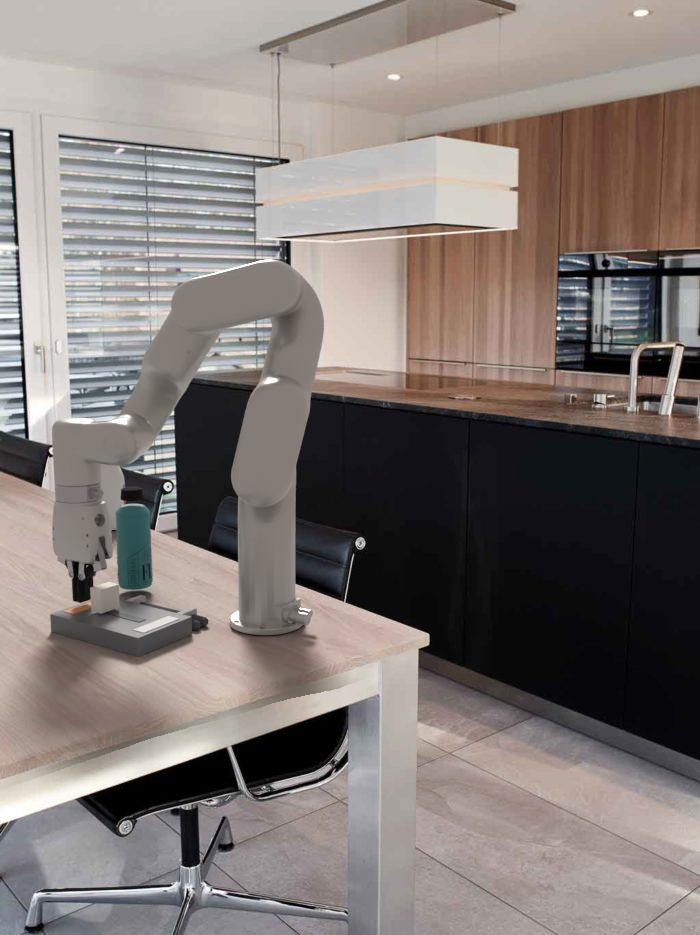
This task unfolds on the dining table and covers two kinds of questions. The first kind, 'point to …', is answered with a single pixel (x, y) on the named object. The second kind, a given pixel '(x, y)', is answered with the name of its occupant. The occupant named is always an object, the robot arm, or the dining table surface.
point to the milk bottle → (112, 490)
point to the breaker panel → (123, 626)
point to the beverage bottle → (133, 542)
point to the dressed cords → (175, 611)
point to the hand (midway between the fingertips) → (83, 599)
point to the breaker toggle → (104, 597)
